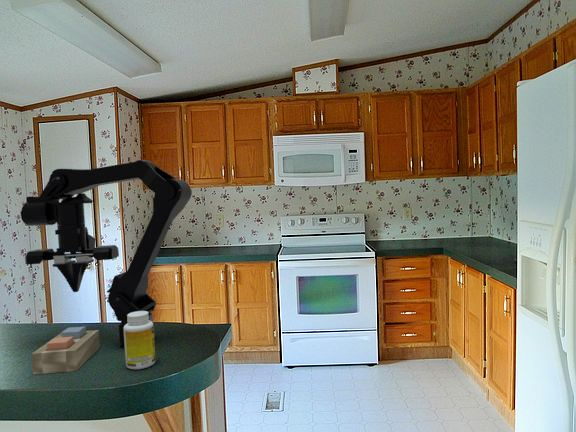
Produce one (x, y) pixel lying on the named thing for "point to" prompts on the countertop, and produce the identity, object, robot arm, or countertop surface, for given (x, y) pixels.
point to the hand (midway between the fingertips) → (76, 291)
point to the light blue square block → (74, 332)
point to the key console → (66, 355)
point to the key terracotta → (60, 343)
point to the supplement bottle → (139, 340)
